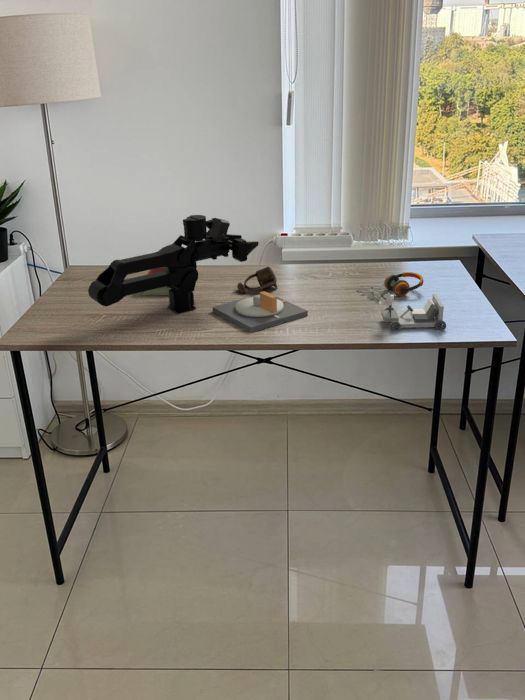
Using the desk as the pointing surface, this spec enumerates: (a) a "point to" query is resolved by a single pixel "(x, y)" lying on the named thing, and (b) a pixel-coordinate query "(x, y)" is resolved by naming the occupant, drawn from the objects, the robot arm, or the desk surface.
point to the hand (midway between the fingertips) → (249, 239)
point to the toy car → (414, 314)
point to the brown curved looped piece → (260, 280)
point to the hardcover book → (159, 290)
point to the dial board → (259, 323)
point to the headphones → (397, 285)
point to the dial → (260, 305)
